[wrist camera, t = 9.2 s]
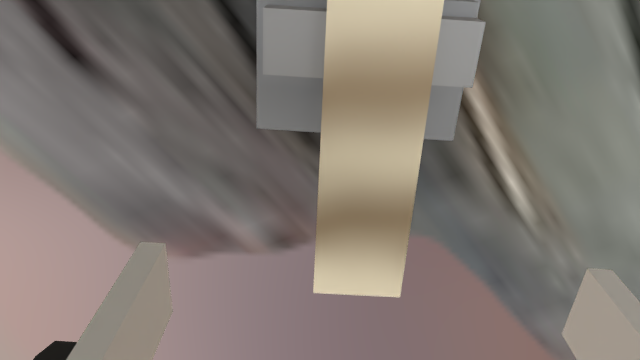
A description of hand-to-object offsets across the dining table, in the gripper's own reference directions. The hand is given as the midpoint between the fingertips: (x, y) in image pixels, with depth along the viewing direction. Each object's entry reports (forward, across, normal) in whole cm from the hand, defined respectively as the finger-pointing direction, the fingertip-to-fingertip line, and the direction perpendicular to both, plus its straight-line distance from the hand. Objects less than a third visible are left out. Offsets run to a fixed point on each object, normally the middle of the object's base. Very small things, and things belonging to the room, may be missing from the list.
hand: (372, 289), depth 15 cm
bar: (+10, 0, +5) cm, 12 cm away
